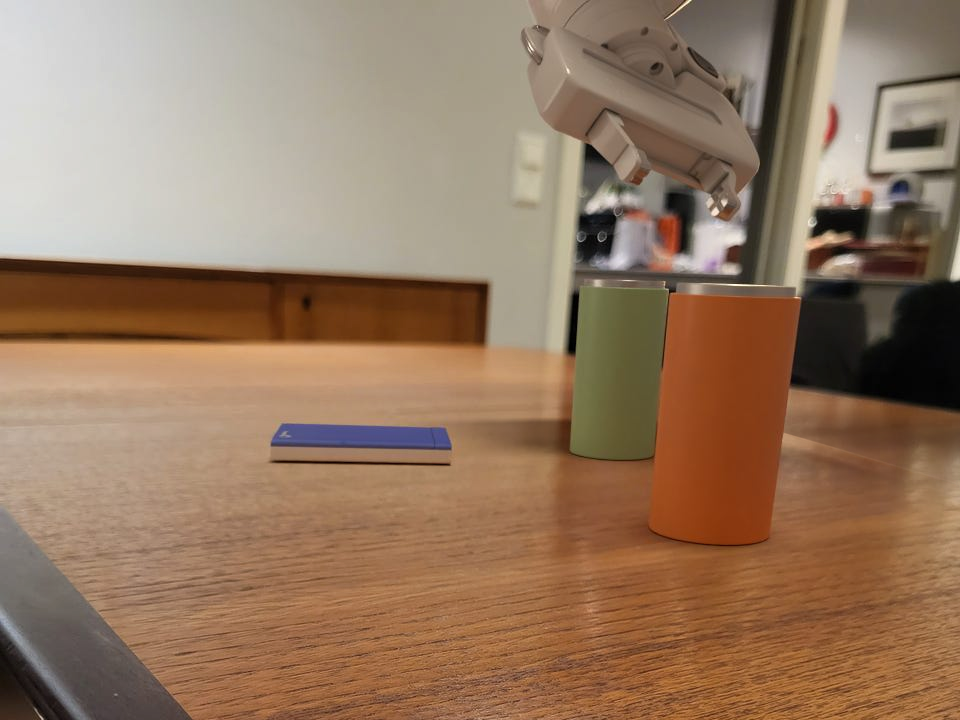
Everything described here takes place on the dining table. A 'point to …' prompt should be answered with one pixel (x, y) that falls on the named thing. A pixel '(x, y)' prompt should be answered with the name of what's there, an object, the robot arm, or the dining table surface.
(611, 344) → the green can
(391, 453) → the hard drive
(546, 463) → the dining table surface
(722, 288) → the orange can
